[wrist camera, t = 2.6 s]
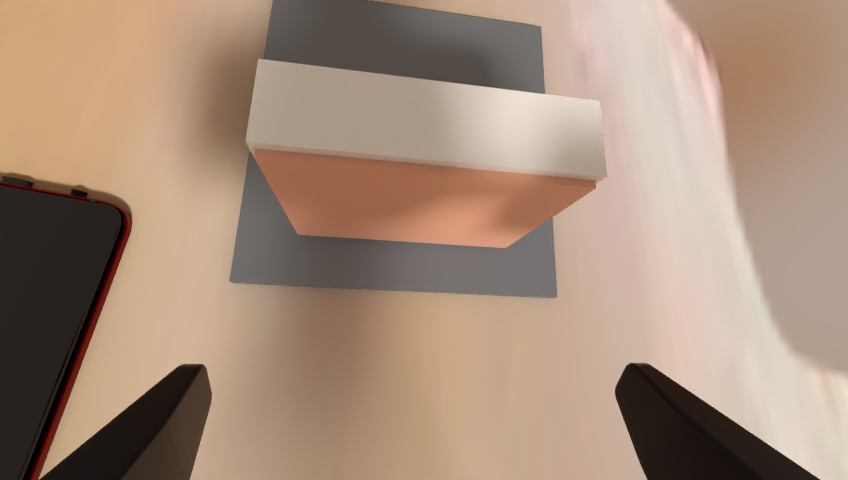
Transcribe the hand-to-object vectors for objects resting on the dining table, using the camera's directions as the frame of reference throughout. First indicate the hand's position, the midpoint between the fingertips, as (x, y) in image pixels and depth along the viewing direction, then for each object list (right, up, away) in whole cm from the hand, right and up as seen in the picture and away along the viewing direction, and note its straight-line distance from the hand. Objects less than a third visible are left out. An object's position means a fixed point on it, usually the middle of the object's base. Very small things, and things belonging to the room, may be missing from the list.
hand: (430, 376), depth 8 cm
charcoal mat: (-1, +9, +16) cm, 19 cm away
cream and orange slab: (-1, +4, +14) cm, 15 cm away
